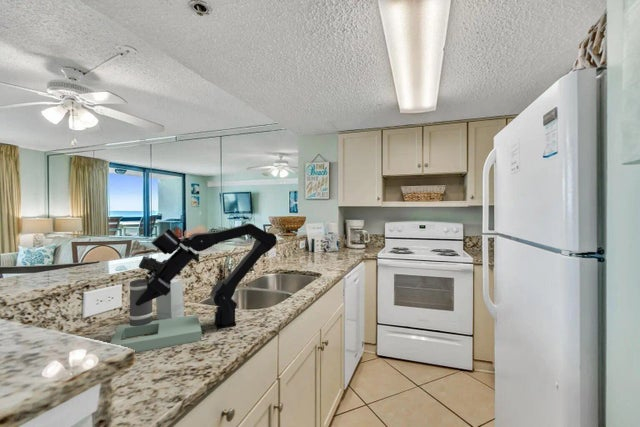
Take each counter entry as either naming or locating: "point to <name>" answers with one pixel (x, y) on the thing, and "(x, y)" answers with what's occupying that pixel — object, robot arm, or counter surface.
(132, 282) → the white-banded grey cylinder
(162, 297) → the skincare box
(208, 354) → the counter surface
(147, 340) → the pale green recessed tray
